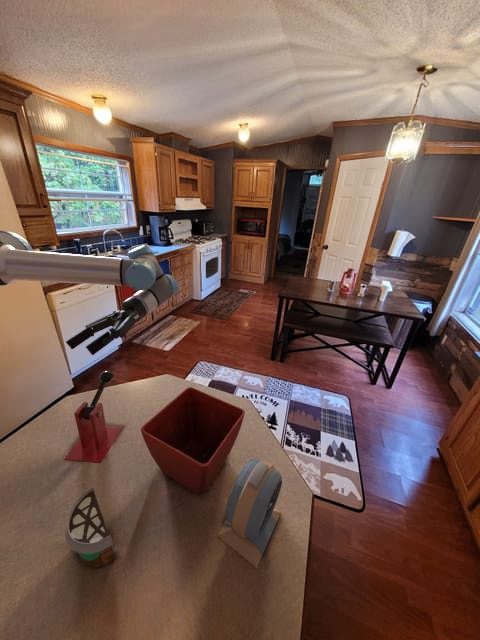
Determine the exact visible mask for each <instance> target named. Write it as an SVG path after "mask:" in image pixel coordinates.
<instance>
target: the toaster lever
mask: <svg viewBox="0 0 480 640" xmlns="http://www.w3.org/2000/svg"><path fill="white" fill-rule="evenodd" d="M99 380H100V384H99V386H98V388H97V390H96V393H95V395H94V396H93V399H92V401H91V403H90V405H88V406H86V408H85V410H84V412H83V414H82V417H83V418H84V419H85V420H90V415H89V414H90V413H91V412H92V411H93V409H94V408H95V407H96V406H97V404H98V403H99V400H100V399H101V396H102V394H103V392H104V390H105V388H106V385H107V384H110V383H111V382H112V381H113V380H114V374H113V371H109V370H104V371H103V372H101V373H100V375H99Z"/></svg>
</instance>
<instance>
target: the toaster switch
mask: <svg viewBox="0 0 480 640" xmlns="http://www.w3.org/2000/svg"><path fill="white" fill-rule="evenodd" d="M86 406H89V402H88V401H83V403H82V404H81V405H79V407H78V408H77V409H76V411H75V412H74V413H73V414H74V419H75V423H76V427H77V432H78V437H79V438H78V440H77V441H76V443H75V444H73V445H74V446H72V448H71V449H70V450H69V452H68V453H67V454H66V456H65V457H64V458H63V460H66V461H74V462H86V463H95V464H102V463H103V461H104V459H105V457H106V456H107V454H108V452H109V451H110V450H111V447H112V446H113V444H114V442H115V441H116V439H117V437H118V436H119V434H120V433H121V431H122V429H123V427H121V426H111V425H109V426H108V425H107V423H106V419H105V418H106V417H105V413H104V406H103V403H102V402H98V403H97V405H96V407H95V408H94V409H93V411H92V412H91V413H90V414H89V415H90V420H85V419H84V418H83V417H82V414H83V412H84V410H85V408H86Z"/></svg>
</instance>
